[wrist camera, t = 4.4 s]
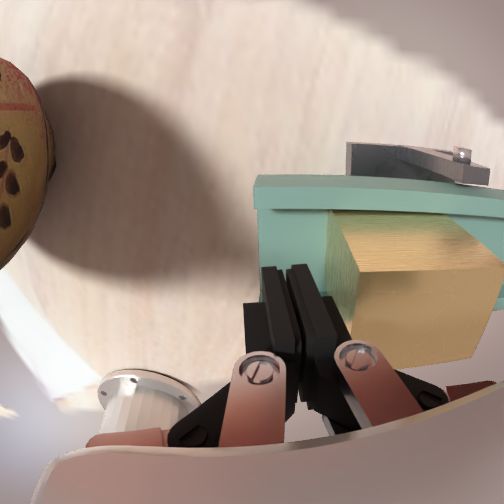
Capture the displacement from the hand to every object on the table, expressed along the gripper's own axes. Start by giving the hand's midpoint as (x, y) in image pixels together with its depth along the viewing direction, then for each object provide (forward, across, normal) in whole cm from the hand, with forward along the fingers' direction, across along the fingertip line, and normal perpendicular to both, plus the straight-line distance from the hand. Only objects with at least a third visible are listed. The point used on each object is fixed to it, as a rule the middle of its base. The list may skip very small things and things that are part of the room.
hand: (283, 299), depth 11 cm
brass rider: (+4, -6, 0) cm, 7 cm away
